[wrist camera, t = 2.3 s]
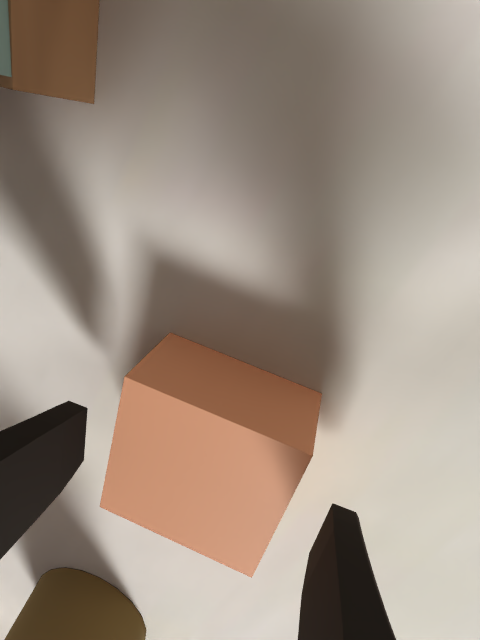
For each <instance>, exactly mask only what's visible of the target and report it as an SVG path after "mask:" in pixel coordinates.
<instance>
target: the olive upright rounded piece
mask: <svg viewBox="0 0 480 640" xmlns="http://www.w3.org/2000/svg"><path fill="white" fill-rule="evenodd" d="M145 636H146V628H145V625H144V622H143V619H142V616H141V615H140V613H139V612H138V611H137V609H136V608H135V606H134V605H133V603H132V602H131V601H130V600H129V599H128V598H126V597H125V596H124V595H123V594H122V593H121V592H120V591H119V590H118V589H117V588H115V587H113V586H112V585H110V584H109V583H107V582H106V581H104V580H102V579H101V578H99V577H96V576H94V575H92V574H89V573H87V572H84V571H81V570H76V569H70V568H58V569H51V570H50V571H48V572H46V573H45V574H43V575H42V576H41V578H40V580H39V582H38V583H37V585H36V587H35V588H34V590H33V592H32V594H31V595H30V597H29V599H28V600H27V602H26V604H25V605H24V607H23V609H22V611H21V612H20V614H19V616H18V617H17V619H16V621H15V622H14V624H13V626H12V628H11V629H10V631H9V633H8V634H7V636H6V638H5V640H145Z"/></svg>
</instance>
